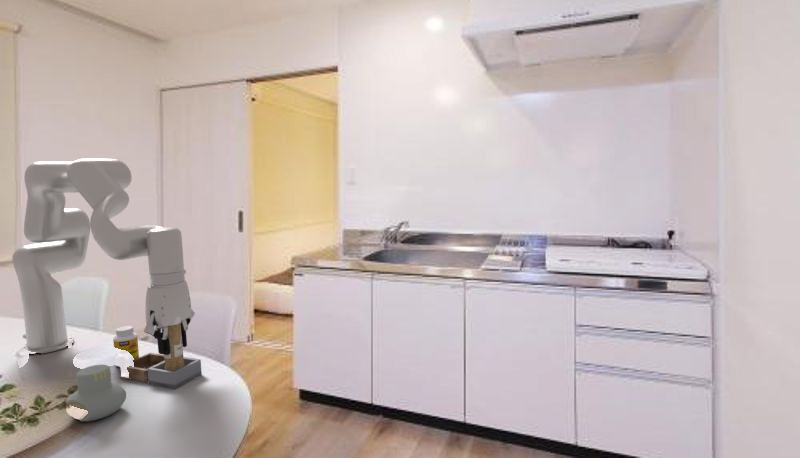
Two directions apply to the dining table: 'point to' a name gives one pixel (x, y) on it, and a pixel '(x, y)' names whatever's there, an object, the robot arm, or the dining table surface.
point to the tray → (174, 374)
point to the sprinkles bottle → (175, 347)
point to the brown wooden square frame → (144, 361)
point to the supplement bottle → (127, 340)
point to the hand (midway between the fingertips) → (173, 349)
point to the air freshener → (97, 393)
